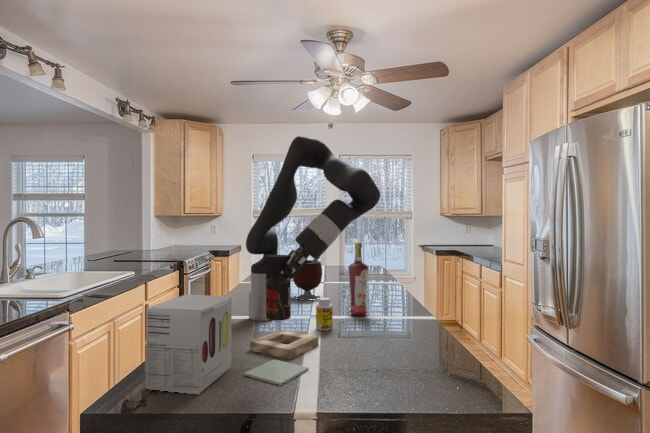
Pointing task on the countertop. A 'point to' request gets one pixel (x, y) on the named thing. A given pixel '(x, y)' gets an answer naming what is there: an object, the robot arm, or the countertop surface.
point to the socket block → (275, 347)
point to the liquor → (358, 284)
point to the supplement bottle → (324, 314)
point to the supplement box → (188, 343)
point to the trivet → (276, 371)
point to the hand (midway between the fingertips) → (270, 285)
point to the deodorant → (280, 299)
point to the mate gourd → (309, 279)
